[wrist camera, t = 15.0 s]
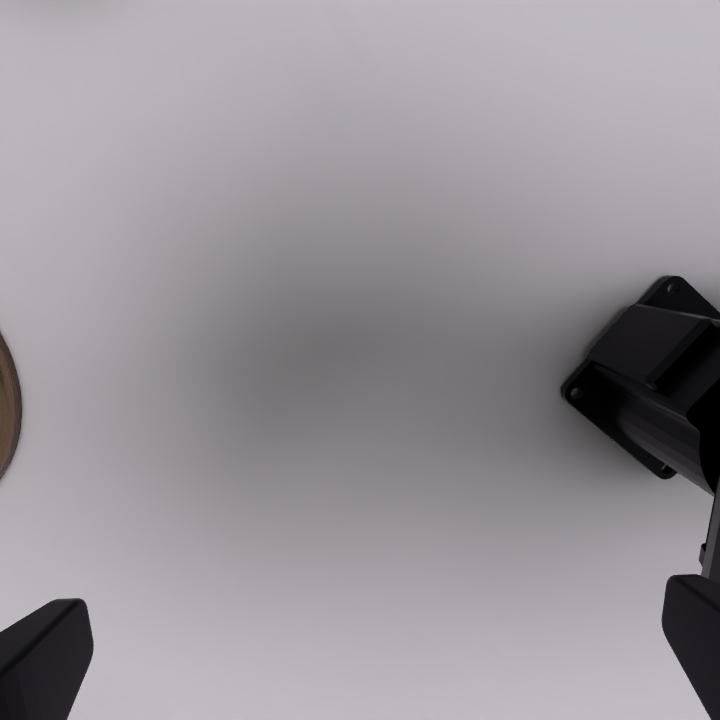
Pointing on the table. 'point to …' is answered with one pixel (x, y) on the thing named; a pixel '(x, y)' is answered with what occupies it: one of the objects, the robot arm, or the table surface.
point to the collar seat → (8, 407)
